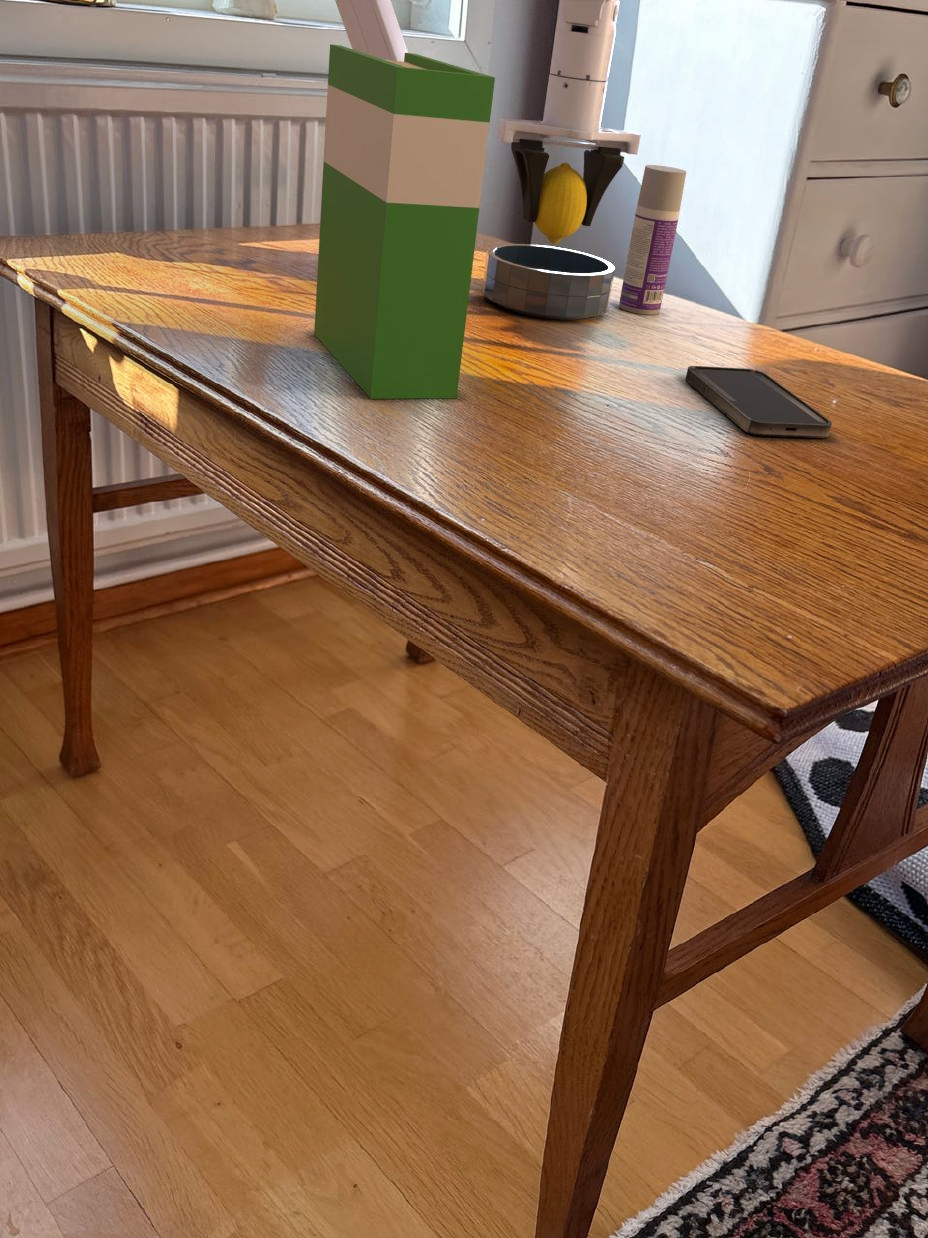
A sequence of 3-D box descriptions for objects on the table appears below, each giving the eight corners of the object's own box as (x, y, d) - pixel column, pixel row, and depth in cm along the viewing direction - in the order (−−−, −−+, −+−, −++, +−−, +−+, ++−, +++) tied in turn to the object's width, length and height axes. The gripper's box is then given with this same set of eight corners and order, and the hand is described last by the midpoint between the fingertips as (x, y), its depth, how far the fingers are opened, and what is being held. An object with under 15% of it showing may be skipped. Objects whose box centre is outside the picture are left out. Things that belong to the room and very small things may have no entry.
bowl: (469, 307, 119) (475, 259, 117) (495, 282, 131) (501, 237, 129) (598, 330, 117) (606, 282, 115) (613, 302, 129) (621, 257, 127)
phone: (759, 369, 107) (837, 425, 94) (756, 380, 108) (833, 438, 95) (682, 365, 105) (751, 421, 92) (680, 376, 106) (748, 434, 93)
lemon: (564, 252, 115) (577, 168, 111) (517, 240, 117) (528, 158, 113) (588, 246, 119) (602, 166, 115) (543, 235, 121) (555, 156, 117)
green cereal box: (314, 333, 104) (330, 43, 93) (390, 334, 107) (415, 53, 95) (370, 398, 90) (397, 67, 79) (456, 397, 93) (495, 77, 81)
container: (658, 306, 130) (686, 168, 123) (660, 316, 126) (689, 174, 119) (618, 301, 130) (643, 162, 123) (619, 310, 126) (645, 168, 119)
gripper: (521, 73, 105) (501, 225, 111) (662, 90, 109) (635, 235, 116) (498, 66, 111) (481, 210, 117) (633, 81, 115) (609, 220, 121)
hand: (556, 222), depth 117 cm, fingers closed on lemon, 5 cm apart
